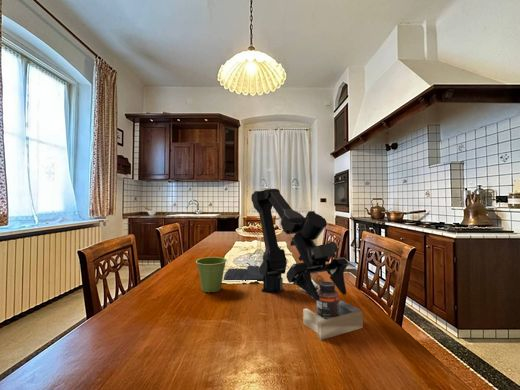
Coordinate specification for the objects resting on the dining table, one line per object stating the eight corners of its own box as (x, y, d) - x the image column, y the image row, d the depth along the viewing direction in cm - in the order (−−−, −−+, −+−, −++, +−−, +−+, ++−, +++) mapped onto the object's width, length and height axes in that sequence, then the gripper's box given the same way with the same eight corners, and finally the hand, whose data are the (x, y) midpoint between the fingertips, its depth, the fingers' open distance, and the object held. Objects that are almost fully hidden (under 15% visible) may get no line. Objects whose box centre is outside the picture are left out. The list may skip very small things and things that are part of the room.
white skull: (324, 299, 97) (308, 284, 106) (323, 283, 95) (307, 269, 104) (312, 304, 95) (297, 288, 104) (311, 287, 93) (296, 273, 102)
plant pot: (189, 293, 99) (189, 263, 99) (204, 284, 111) (204, 256, 111) (220, 296, 96) (220, 264, 96) (231, 286, 108) (231, 257, 108)
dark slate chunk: (228, 272, 129) (228, 262, 129) (274, 273, 128) (274, 263, 128) (221, 282, 114) (221, 271, 114) (273, 283, 113) (273, 271, 113)
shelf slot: (299, 324, 74) (299, 308, 74) (339, 314, 81) (339, 299, 81) (320, 340, 66) (320, 321, 66) (363, 327, 72) (363, 310, 72)
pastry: (328, 283, 111) (328, 273, 111) (317, 286, 107) (317, 277, 107) (311, 278, 119) (311, 269, 119) (300, 281, 115) (300, 272, 115)
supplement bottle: (335, 320, 77) (334, 280, 77) (342, 330, 71) (342, 286, 71) (314, 320, 77) (314, 280, 77) (320, 330, 71) (319, 287, 71)
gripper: (291, 234, 74) (317, 287, 64) (343, 230, 82) (374, 276, 72) (277, 258, 81) (298, 308, 70) (326, 252, 89) (352, 296, 79)
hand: (332, 297), depth 73 cm, fingers open, 9 cm apart
